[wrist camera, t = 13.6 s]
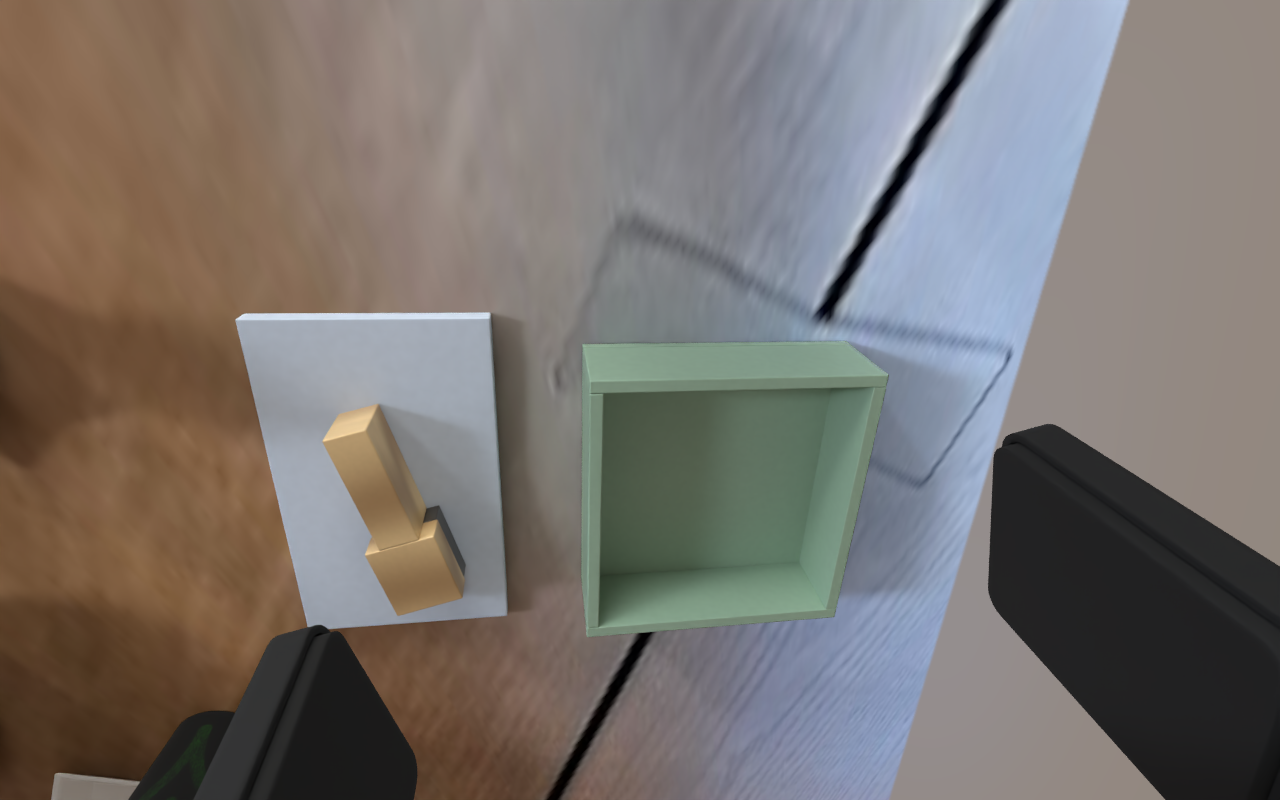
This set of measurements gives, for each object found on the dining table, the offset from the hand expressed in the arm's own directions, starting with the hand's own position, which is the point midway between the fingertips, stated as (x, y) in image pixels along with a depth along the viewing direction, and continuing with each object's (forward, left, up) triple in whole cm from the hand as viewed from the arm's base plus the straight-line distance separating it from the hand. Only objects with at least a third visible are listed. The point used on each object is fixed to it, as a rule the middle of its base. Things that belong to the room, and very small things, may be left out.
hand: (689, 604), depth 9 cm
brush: (+14, -10, -25) cm, 31 cm away
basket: (+14, +8, -26) cm, 31 cm away
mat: (+14, -11, -26) cm, 32 cm away
